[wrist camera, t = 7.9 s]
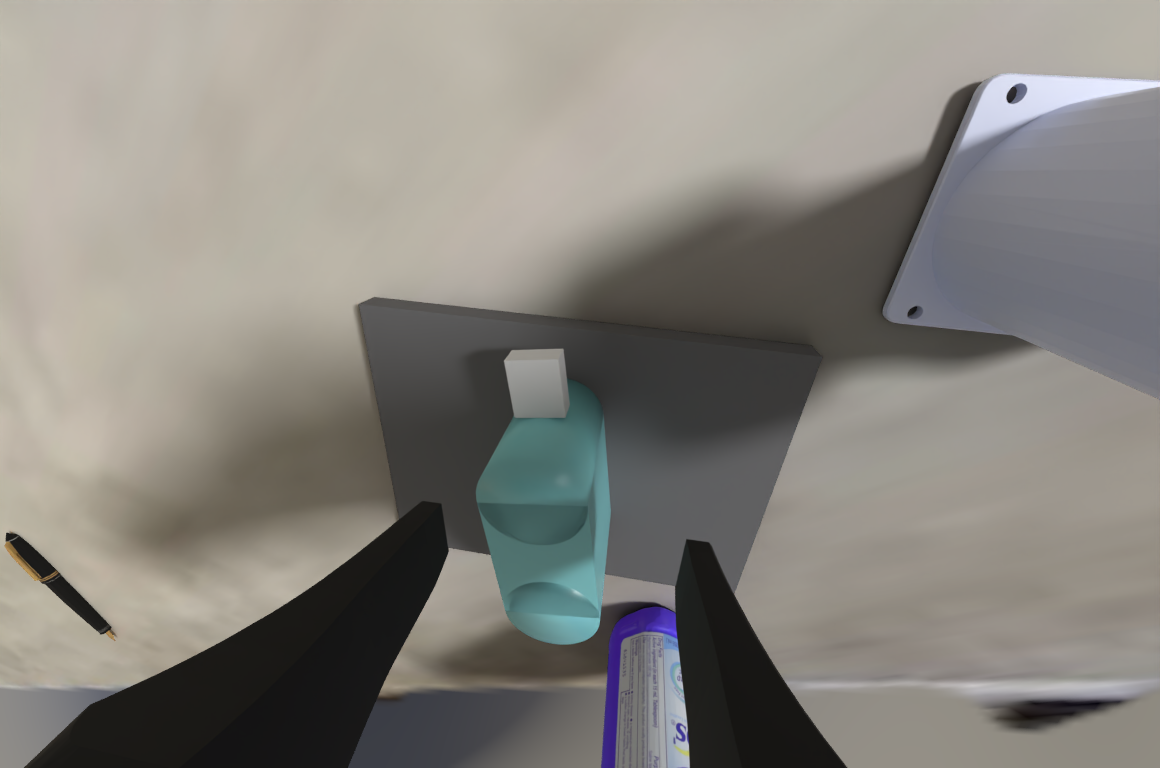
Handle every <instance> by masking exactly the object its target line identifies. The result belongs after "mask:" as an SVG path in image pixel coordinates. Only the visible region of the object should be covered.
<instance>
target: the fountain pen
mask: <svg viewBox="0 0 1160 768" xmlns="http://www.w3.org/2000/svg"><path fill="white" fill-rule="evenodd" d="M5 548H6V549H7V551H8V552H9V554H10V555H11V556H12V557H13V558H14V560H15V561H16V562H17V563H18V564H19V565H20V566H21V567H22V568H23V569H24V570H25V571H26V572H27V573H28V574H29V575H30V576H31V577H32V578H33V579H34V580H35V581H37V580H39V581H40V582H41V583H42V584H45V585H46V586H48V587H49V588H50V589H51V590H52V591H53V592H54V593H55V594H56V595H57V596H58V597H59V598H60V599H61V600H62V601H63V602H64V603H65V604H67V605H68V606H69V607H70V608H71V609H72V610H73V611H75V612H76V613H77V614H78V615H79V616H80V617H81V618H83V619H84V620H85V621H86V622H87V623H88V624H90V625H91V626H92V627H93V628H94V629H95V630H97V631H98V632H99V633H100V634H104V633H106V634H107V635H108V636H109V637H110V638H111V639H113V640H114V641H115V639H114V636H113V634H112V633H111V632H110V631H109V630H110V629H111V626H110V625H109V624H108V623H107V622H106V621H105V620H104V619H103V618H102V617H101V616H100V615H99V614H98V613H97V612H96V611H95V609H94V608H93V607H92V606H91V605H90V604H89V603H88V602H87V601H86V600H85V599H84V598H83V597H82V596H81V595H80V594H79V593H78V592H77V591H76V590H75V589H74V588H73V587H72V586H71V585H70V584H69V583H68V582H67V581H66V580H65V579H64V578H63V577H62V576H61V574H60V573H59V572H58V571H57V570H56V569H55V568H54V567H53V566H52V565H51V564H50V563H49V562H48V561H47V560H46V559H45V558H44V557H43V556H41V555H40V554H39V553H38V552H37V551H36V550H35V549H34V548H33V547H32V546H31V545H30V544H29V543H27V542H26V541H25V540H24V539H23V538H22V537H20V536H19V535H15V534H10V533H6V544H5Z"/></svg>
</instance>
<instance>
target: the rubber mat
mask: <svg viewBox="0 0 1160 768" xmlns="http://www.w3.org/2000/svg"><path fill="white" fill-rule="evenodd" d="M359 308H360V313H361V319H362V324H363V329H364V335H365V340H366V345H367V351H368V356H369V361H370V367H371V372H372V377H373V383H374V388H375V393H376V398H377V404H378V409H379V414H380V420H381V425H382V430H383V436H384V441H385V446H386V452H387V457H388V462H389V468H390V473H391V478H392V483H393V489H394V494H395V499H396V505H397V510H398V515H399V519H400V518H402V517H403V516H404V515H405V514H406V513H408V512H409V511H410V510H411V509H413V508H414V507H415V506H416V505H418V504H419V503H420V502H421V501H427V502H434V503H441V504H442V510H443V517H444V524H445V530H446V537H447V543H448V548H453V549H459V550H465V551H471V552H477V553H483V554H489V555H491V554H490V550H489V546H488V542H487V539H486V535H485V531H484V527H483V523H482V520H481V516H480V512H479V508H478V504H477V500H476V488H477V484H478V481H479V479H480V477H481V475H482V473H483V472H484V470H485V468H486V466H487V464H488V462H489V461H490V459H491V457H492V455H493V453H494V451H495V450H496V448H497V446H498V444H499V442H500V440H501V439H502V437H503V435H504V433H505V431H506V429H507V427H508V426H509V424H510V422H511V420H512V418H513V416H514V412H513V406H512V401H511V396H510V390H509V385H508V380H507V374H506V369H505V364H504V360H505V359H506V357H507V356H508V355H509V353H510V352H511V351H512V350H534V349H563V350H564V358H565V367H566V376H567V379H571V380H575V381H577V382H579V383H581V384H583V385H585V386H586V387H587V388H589V389H590V390H591V391H592V392H593V393H594V394H595V395H596V396H597V398H598V400H599V401H600V403H601V406H602V409H603V414H604V426H605V440H606V453H607V467H608V480H609V494H610V508H611V517H610V527H609V537H608V547H607V557H606V566H605V574H607V575H613V576H619V577H625V578H631V579H637V580H643V581H649V582H655V583H660V584H666V585H672V586H676V582H677V578H678V573H679V569H680V565H681V560H682V556H683V551H684V547H685V543H686V539H690V540H697V541H704V542H709V543H710V544H711V545H712V547H713V550H714V552H715V555H716V557H717V559H718V562H719V564H720V566H721V568H722V570H723V573H724V575H725V577H726V579H727V581H728V583H729V585H730V587H731V589H732V591H733V593H735V590H736V588H737V585H738V582H739V580H740V577H741V574H742V571H743V569H744V566H745V563H746V561H747V558H748V555H749V553H750V550H751V547H752V545H753V542H754V539H755V537H756V534H757V531H758V529H759V526H760V523H761V521H762V518H763V515H764V513H765V510H766V507H767V505H768V502H769V499H770V497H771V494H772V491H773V489H774V486H775V483H776V480H777V478H778V475H779V472H780V470H781V467H782V464H783V462H784V459H785V456H786V454H787V451H788V448H789V446H790V443H791V440H792V438H793V435H794V432H795V430H796V427H797V424H798V422H799V419H800V416H801V414H802V411H803V408H804V406H805V403H806V400H807V398H808V395H809V392H810V390H811V387H812V384H813V381H814V379H815V376H816V373H817V371H818V368H819V365H820V363H821V360H822V356H821V355H820V353H819V352H818V351H817V350H816V349H815V348H814V347H813V346H809V345H800V344H791V343H782V342H773V341H764V340H755V339H746V338H737V337H728V336H719V335H710V334H701V333H692V332H683V331H674V330H665V329H656V328H647V327H638V326H629V325H620V324H611V323H602V322H593V321H584V320H575V319H566V318H557V317H548V316H539V315H530V314H521V313H512V312H503V311H494V310H485V309H476V308H467V307H458V306H449V305H440V304H431V303H422V302H413V301H404V300H395V299H386V298H377V297H374V298H371V299H369V300H367V301H365V302H363V303H361V304H359Z"/></svg>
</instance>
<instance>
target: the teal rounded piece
mask: <svg viewBox="0 0 1160 768" xmlns="http://www.w3.org/2000/svg"><path fill="white" fill-rule="evenodd" d="M504 364H505V369H506V374H507V380H508V385H509V390H510V396H511V401H512V406H513V412H514V416H513V418H512V420H511V422H510V424H509V426H508V427H507V429H506V431H505V433H504V435H503V437H502V439H501V440H500V442H499V444H498V446H497V448H496V450H495V451H494V453H493V455H492V457H491V459H490V461H489V462H488V464H487V466H486V468H485V470H484V472H483V473H482V475H481V477H480V479H479V481H478V484H477V488H476V500H477V504H478V508H479V512H480V516H481V520H482V523H483V527H484V531H485V535H486V539H487V542H488V546H489V550H490V554H491V558H492V562H493V565H494V569H495V573H496V577H497V581H498V584H499V588H500V592H501V596H502V600H503V603H504V607H505V611H506V614H507V616H508V618H509V620H510V621H511V622H512V624H513V625H514V626H515V627H516V628H518V629H519V630H520V631H521V632H523V633H524V634H526V635H528V636H530V637H532V638H534V639H537V640H539V641H543V642H546V643H551V644H561V645H566V644H575V643H580V642H582V641H585V640H587V639H589V638H590V637H592V636H593V635H594V634H595V633H596V631H597V630H598V628H599V624H600V615H601V606H602V596H603V586H604V576H605V566H606V557H607V547H608V537H609V527H610V517H611V508H610V494H609V480H608V467H607V453H606V440H605V426H604V414H603V409H602V406H601V403H600V401H599V400H598V398H597V396H596V395H595V394H594V393H593V392H592V391H591V390H590V389H589V388H587V387H586V386H585V385H583V384H581V383H579V382H577V381H575V380H571V379H567V376H566V367H565V358H564V350H563V349H534V350H512V351H511V352H510V353H509V355H508V356H507V357H506V359H505V360H504Z"/></svg>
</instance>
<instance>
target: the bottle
mask: <svg viewBox="0 0 1160 768" xmlns="http://www.w3.org/2000/svg"><path fill="white" fill-rule="evenodd" d="M601 768H690V762H689V739H688V727H687V716H686V708H685V699H684V691H683V683H682V674H681V666H680V657H679V649H678V640H677V631H676V613H674V612H672V611H670V610H668V609H665V608H662V607H650V608H644V609H641V610H638V611H636V612H634V613H631V614H628V615H626V616H624V617H623V618H621V619H620V620H619V621H618V622H617V623H616V625H615V627H614V629H613V631H612V634H611V637H610V641H609V655H608V667H607V685H606V702H605V716H604V732H603V746H602V761H601Z"/></svg>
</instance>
